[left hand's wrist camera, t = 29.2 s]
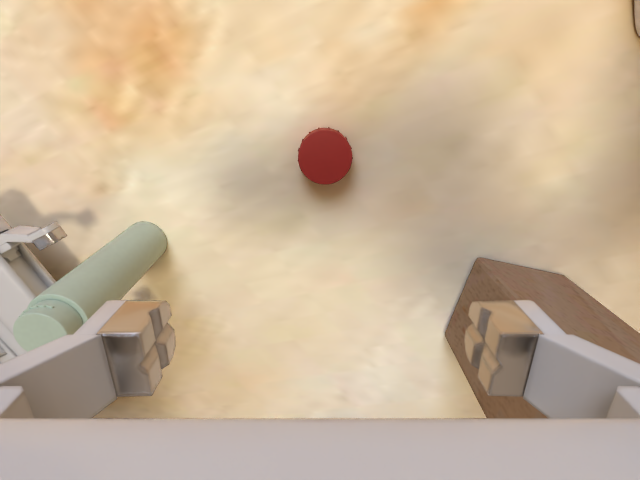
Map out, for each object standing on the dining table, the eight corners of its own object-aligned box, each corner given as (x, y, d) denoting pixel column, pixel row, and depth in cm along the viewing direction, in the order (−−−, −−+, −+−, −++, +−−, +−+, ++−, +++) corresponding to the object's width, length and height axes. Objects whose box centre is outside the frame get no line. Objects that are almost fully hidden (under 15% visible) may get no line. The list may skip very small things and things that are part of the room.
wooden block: (442, 334, 43) (538, 526, 24) (475, 254, 39) (619, 408, 20) (525, 350, 43) (679, 548, 25) (565, 274, 40) (781, 438, 21)
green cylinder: (123, 221, 38) (-3, 308, 23) (164, 221, 38) (65, 308, 23) (130, 258, 39) (17, 362, 24) (169, 258, 39) (80, 362, 24)
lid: (340, 187, 36) (342, 192, 35) (291, 170, 36) (290, 175, 34) (358, 137, 35) (361, 140, 33) (307, 119, 34) (307, 121, 32)
